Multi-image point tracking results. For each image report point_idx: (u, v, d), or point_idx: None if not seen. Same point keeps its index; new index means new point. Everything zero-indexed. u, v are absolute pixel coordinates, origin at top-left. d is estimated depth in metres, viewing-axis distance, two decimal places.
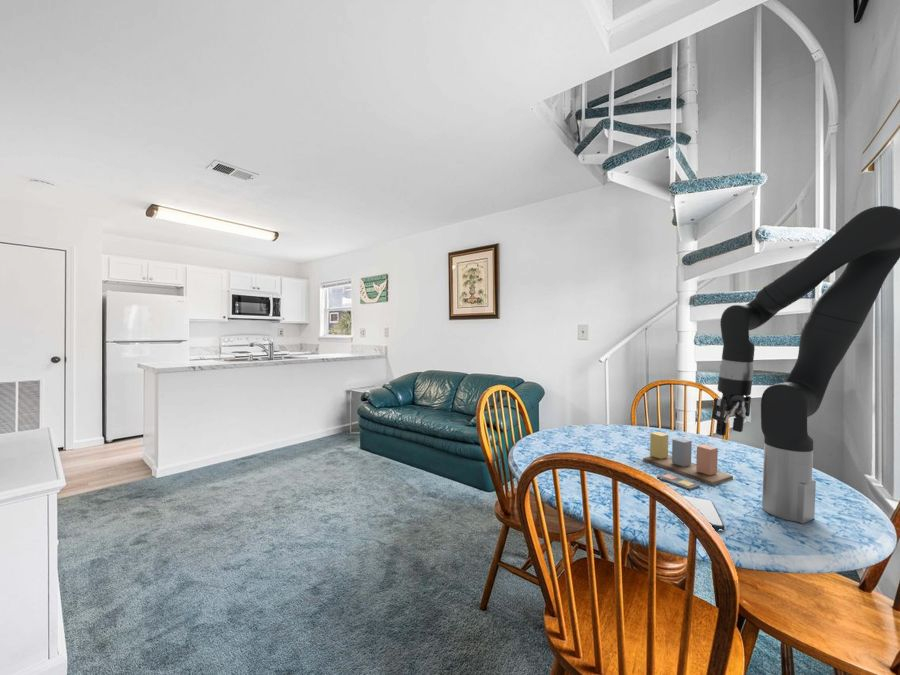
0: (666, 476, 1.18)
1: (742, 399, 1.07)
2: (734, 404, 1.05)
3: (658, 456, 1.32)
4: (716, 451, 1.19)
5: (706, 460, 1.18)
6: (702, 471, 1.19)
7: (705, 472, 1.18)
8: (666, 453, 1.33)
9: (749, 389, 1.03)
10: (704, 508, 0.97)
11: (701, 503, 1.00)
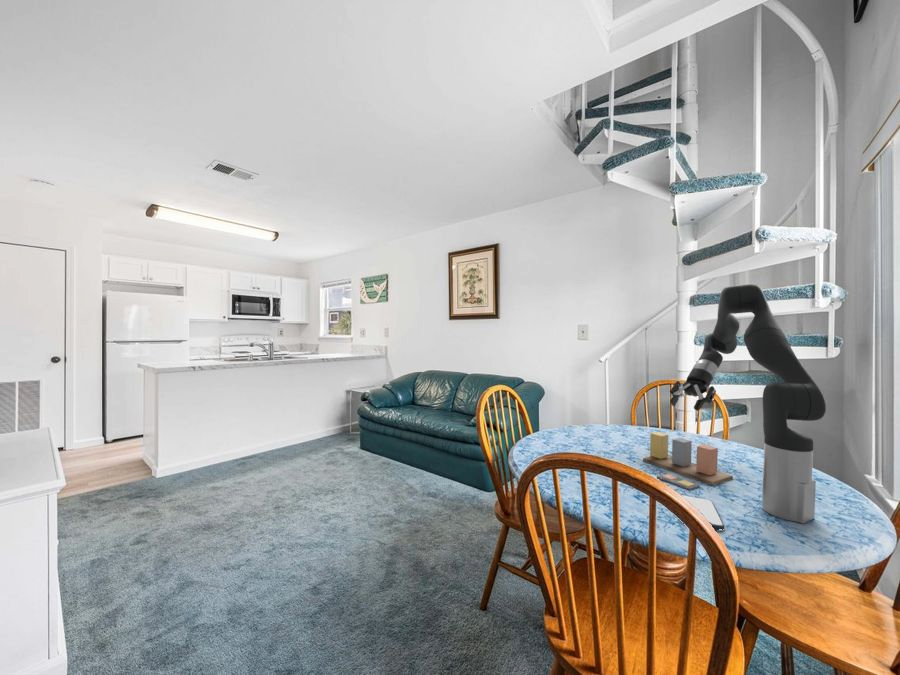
0: (666, 476, 1.18)
1: (701, 386, 1.41)
2: None
3: (658, 456, 1.32)
4: (716, 451, 1.19)
5: (706, 460, 1.18)
6: (702, 471, 1.19)
7: (705, 472, 1.18)
8: (666, 453, 1.33)
9: (695, 373, 1.43)
10: (704, 507, 0.97)
11: (701, 502, 1.00)
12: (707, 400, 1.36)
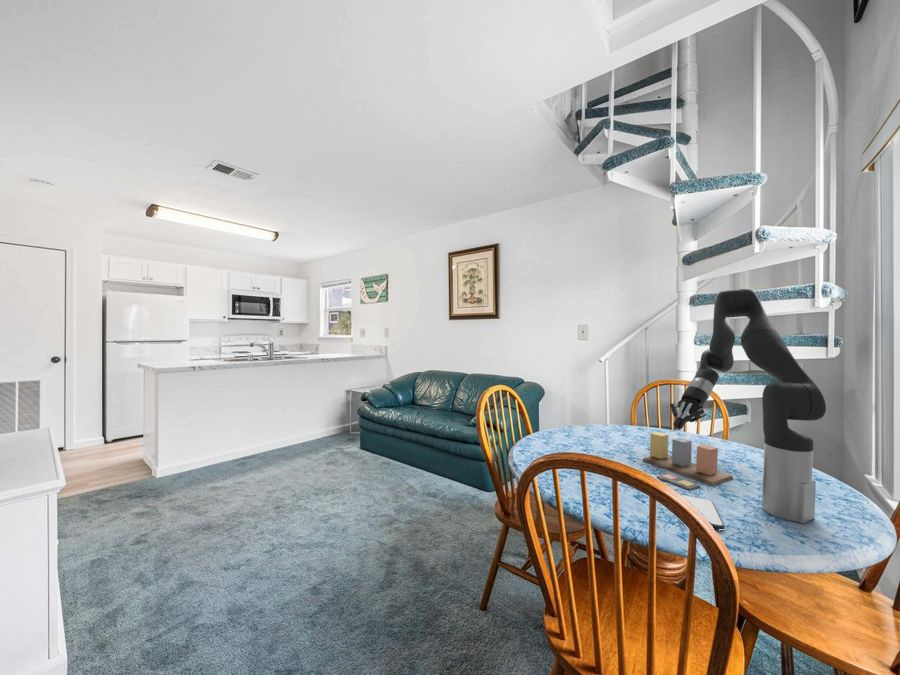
0: (666, 476, 1.18)
1: (696, 404, 1.39)
2: None
3: (658, 456, 1.32)
4: (716, 451, 1.19)
5: (706, 460, 1.18)
6: (702, 471, 1.19)
7: (705, 472, 1.18)
8: (666, 453, 1.33)
9: (690, 391, 1.41)
10: (704, 507, 0.97)
11: (701, 502, 1.00)
12: (688, 419, 1.37)
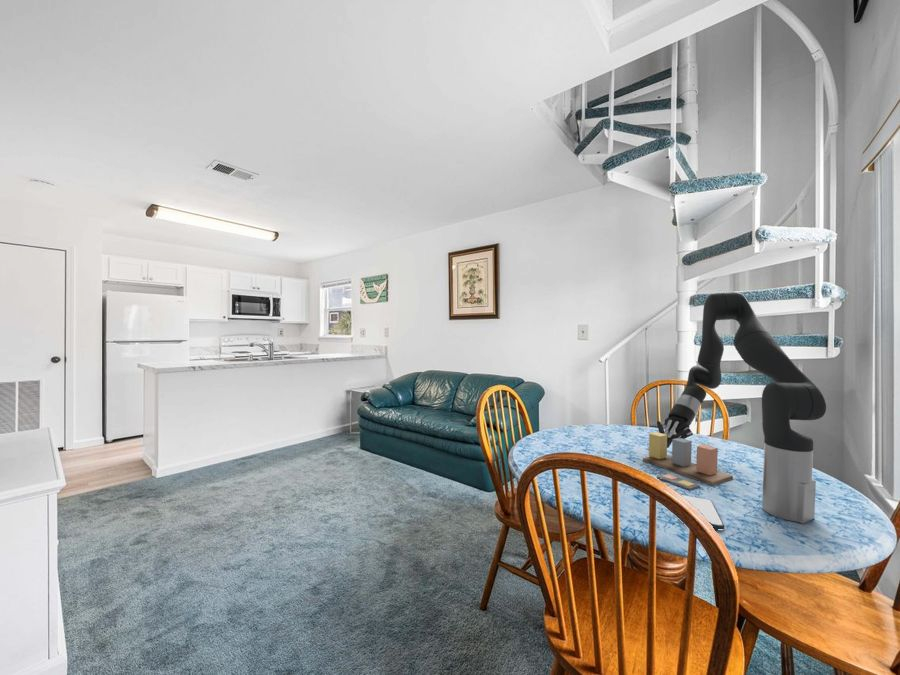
0: (666, 476, 1.18)
1: (682, 423, 1.35)
2: None
3: (657, 456, 1.32)
4: (716, 451, 1.19)
5: (706, 460, 1.18)
6: (702, 471, 1.19)
7: (705, 472, 1.18)
8: (665, 453, 1.33)
9: (676, 409, 1.38)
10: (703, 507, 0.97)
11: (701, 502, 1.00)
12: (674, 438, 1.34)
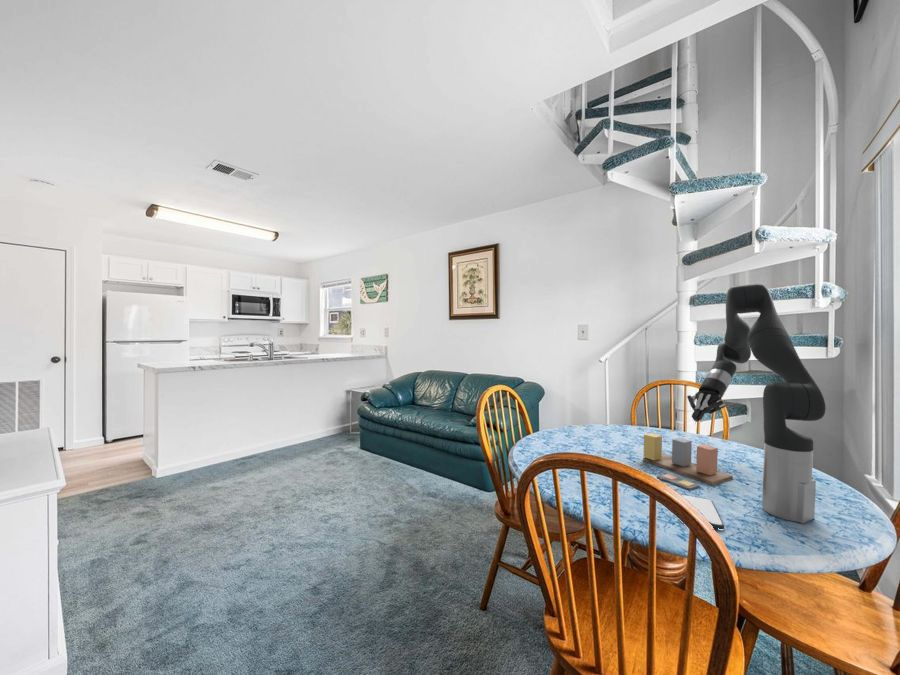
0: (666, 476, 1.18)
1: (714, 396, 1.37)
2: None
3: (651, 458, 1.31)
4: (716, 451, 1.19)
5: (706, 460, 1.18)
6: (702, 471, 1.19)
7: (705, 472, 1.18)
8: (660, 454, 1.31)
9: (708, 382, 1.39)
10: (703, 507, 0.97)
11: (701, 502, 1.00)
12: (707, 410, 1.35)
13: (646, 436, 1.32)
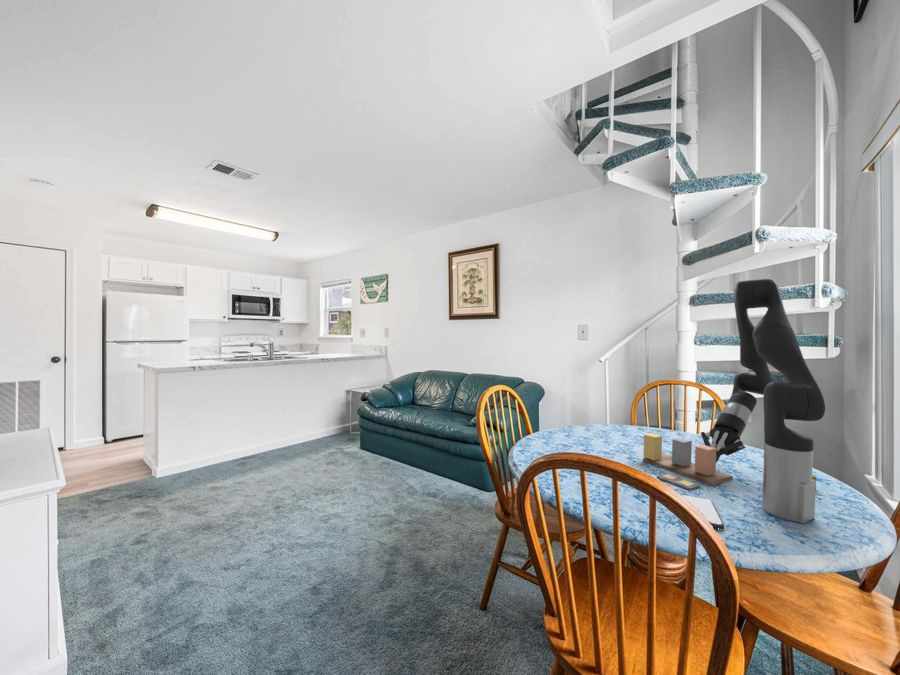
0: (666, 476, 1.18)
1: (732, 434, 1.21)
2: None
3: (651, 458, 1.31)
4: (715, 451, 1.18)
5: (705, 461, 1.18)
6: (701, 471, 1.19)
7: (704, 472, 1.18)
8: (660, 454, 1.31)
9: (724, 418, 1.24)
10: (703, 507, 0.97)
11: (700, 502, 1.00)
12: (723, 451, 1.20)
13: (646, 436, 1.32)
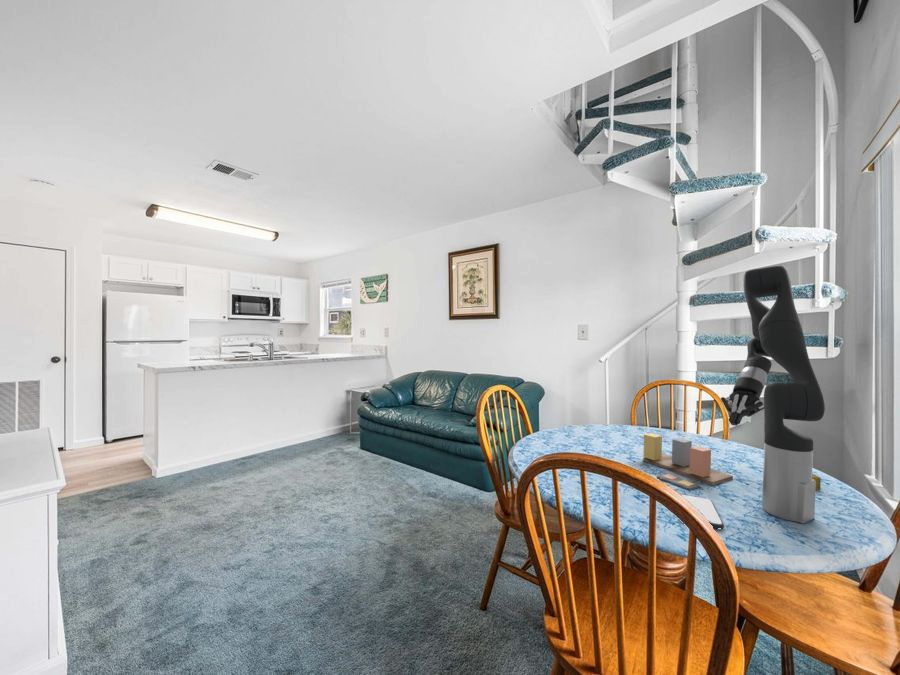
0: (666, 476, 1.18)
1: (752, 396, 1.26)
2: None
3: (651, 458, 1.31)
4: (709, 453, 1.17)
5: (700, 462, 1.16)
6: (695, 473, 1.18)
7: (698, 474, 1.17)
8: (660, 454, 1.31)
9: (743, 382, 1.29)
10: (703, 507, 0.97)
11: (700, 502, 1.00)
12: (745, 413, 1.25)
13: (646, 436, 1.32)
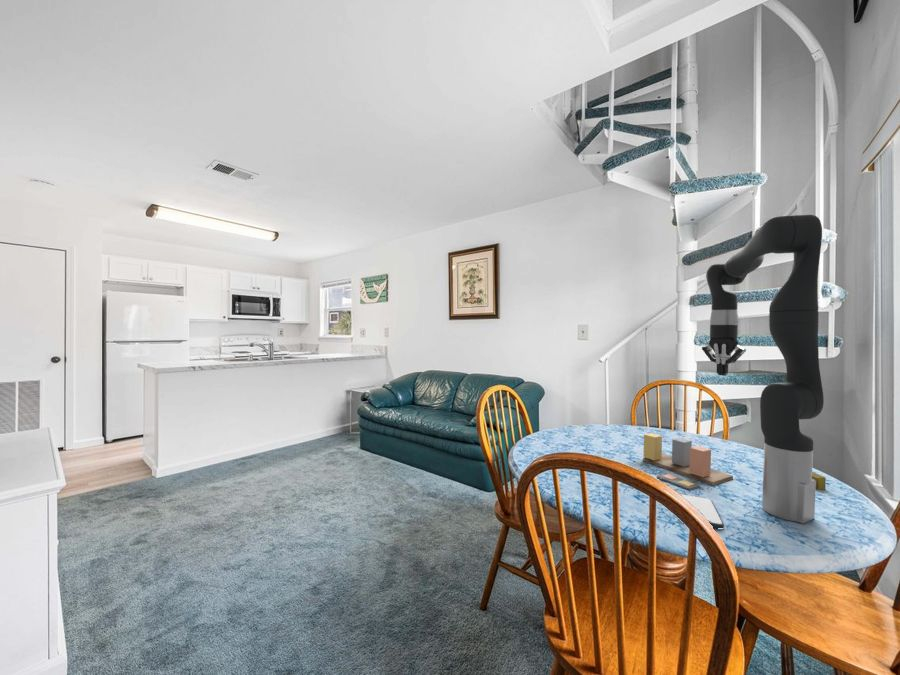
0: (666, 476, 1.18)
1: (730, 343, 1.24)
2: None
3: (651, 458, 1.31)
4: (709, 453, 1.17)
5: (700, 462, 1.16)
6: (695, 473, 1.18)
7: (698, 474, 1.17)
8: (660, 454, 1.31)
9: (716, 332, 1.26)
10: (703, 506, 0.97)
11: (700, 501, 1.00)
12: None
13: (646, 436, 1.32)
